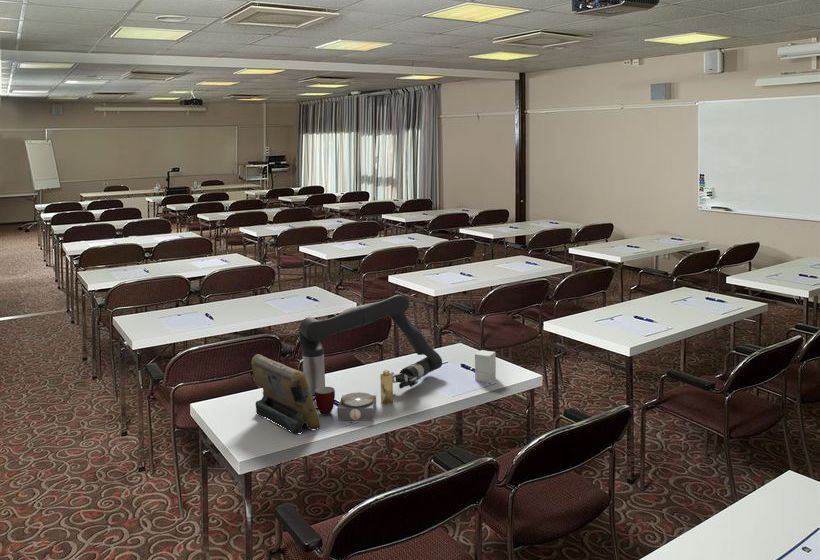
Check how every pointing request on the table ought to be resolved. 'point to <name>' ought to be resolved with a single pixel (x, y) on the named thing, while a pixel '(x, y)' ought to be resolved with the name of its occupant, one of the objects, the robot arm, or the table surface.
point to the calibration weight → (386, 388)
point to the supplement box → (485, 366)
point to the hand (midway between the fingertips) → (391, 384)
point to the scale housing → (357, 411)
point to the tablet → (284, 395)
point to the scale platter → (357, 399)
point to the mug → (324, 399)
